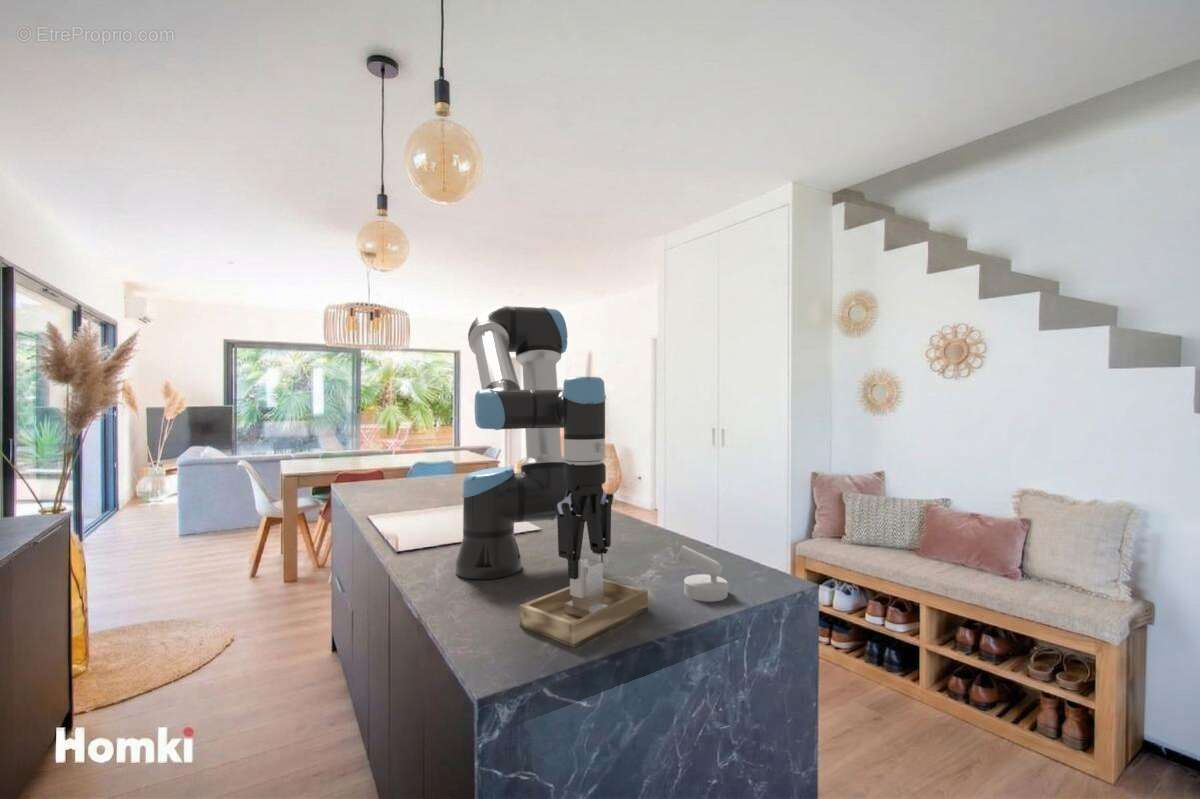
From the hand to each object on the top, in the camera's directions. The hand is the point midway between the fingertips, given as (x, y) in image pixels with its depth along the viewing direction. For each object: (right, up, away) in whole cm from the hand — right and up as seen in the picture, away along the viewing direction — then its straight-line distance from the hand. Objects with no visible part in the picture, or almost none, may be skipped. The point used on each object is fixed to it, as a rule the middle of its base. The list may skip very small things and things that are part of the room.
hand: (585, 592), depth 94 cm
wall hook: (+23, -5, +12) cm, 26 cm away
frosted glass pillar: (0, -4, 0) cm, 4 cm away
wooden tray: (0, -5, 0) cm, 5 cm away
